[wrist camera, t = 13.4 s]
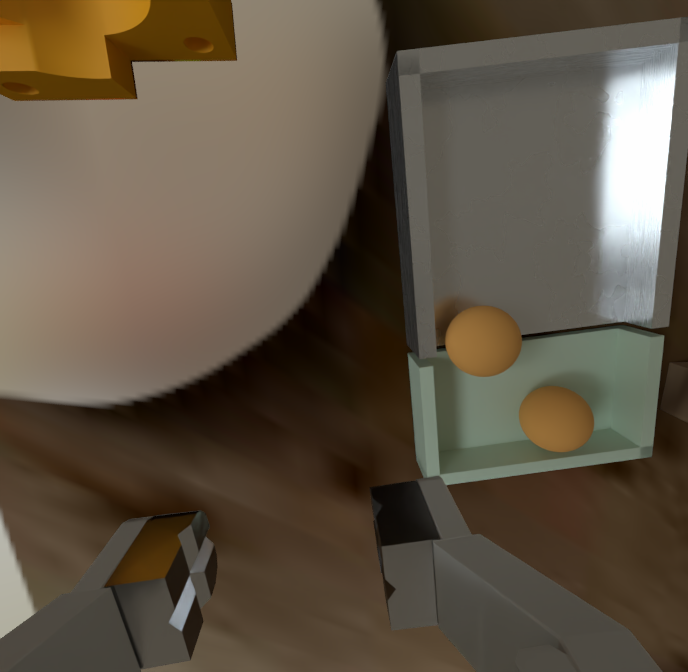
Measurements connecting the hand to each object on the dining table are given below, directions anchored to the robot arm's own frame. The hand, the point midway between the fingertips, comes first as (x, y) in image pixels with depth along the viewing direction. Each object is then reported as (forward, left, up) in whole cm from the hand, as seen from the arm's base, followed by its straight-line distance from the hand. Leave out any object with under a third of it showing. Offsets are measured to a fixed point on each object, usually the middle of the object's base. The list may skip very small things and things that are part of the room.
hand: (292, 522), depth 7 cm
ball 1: (-1, -9, -12) cm, 16 cm away
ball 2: (-6, -14, -13) cm, 20 cm away
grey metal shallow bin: (+6, -13, -16) cm, 21 cm away
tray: (-6, -13, -16) cm, 21 cm away
